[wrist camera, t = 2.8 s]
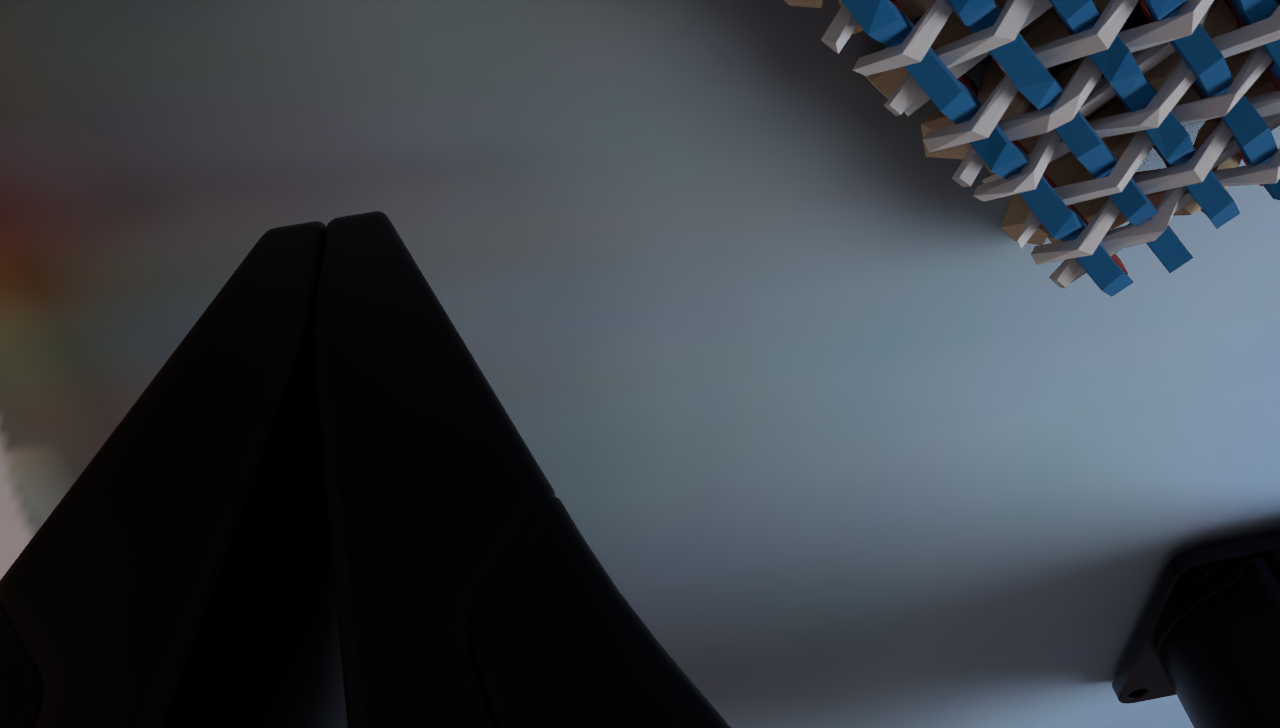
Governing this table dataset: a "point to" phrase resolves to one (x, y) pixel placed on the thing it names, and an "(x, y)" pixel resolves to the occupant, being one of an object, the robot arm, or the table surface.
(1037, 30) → the woven mat
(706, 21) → the table surface
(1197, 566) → the robot arm
